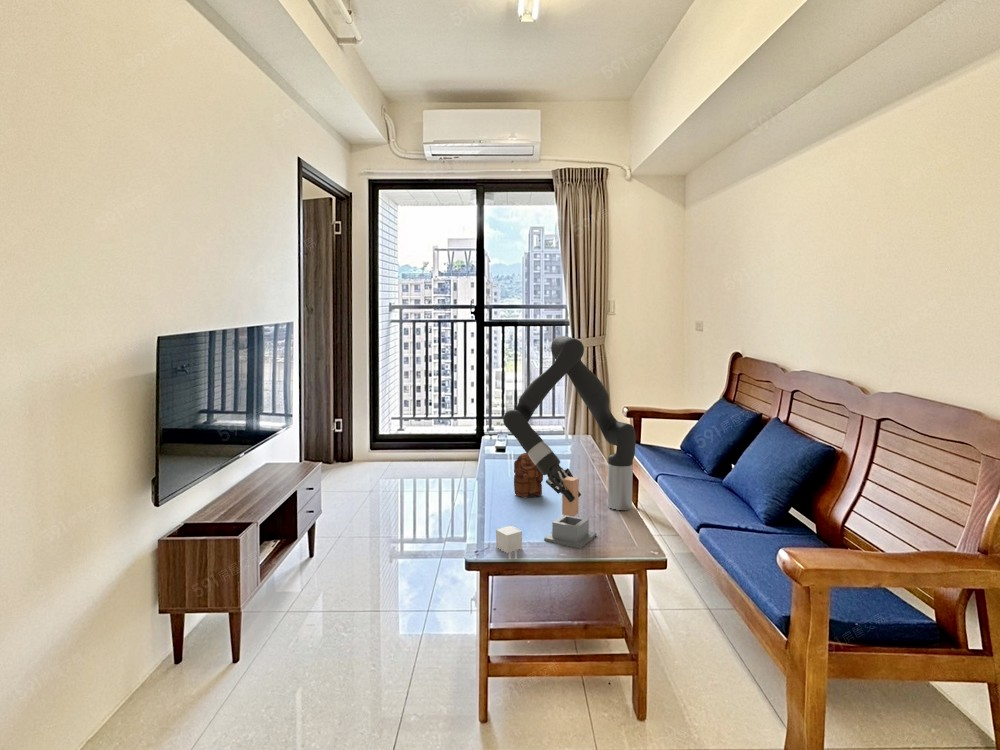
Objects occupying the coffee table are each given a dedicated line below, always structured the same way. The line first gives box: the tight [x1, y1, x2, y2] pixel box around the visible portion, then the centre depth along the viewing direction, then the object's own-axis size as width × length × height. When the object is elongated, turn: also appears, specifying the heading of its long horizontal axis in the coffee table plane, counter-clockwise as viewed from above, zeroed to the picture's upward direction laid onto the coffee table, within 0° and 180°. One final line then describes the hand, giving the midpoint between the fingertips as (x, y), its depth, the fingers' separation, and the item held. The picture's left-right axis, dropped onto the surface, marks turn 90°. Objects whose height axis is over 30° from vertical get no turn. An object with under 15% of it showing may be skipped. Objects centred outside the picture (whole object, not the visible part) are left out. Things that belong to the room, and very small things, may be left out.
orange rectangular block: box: [561, 476, 580, 517], centre depth 190 cm, size 4×4×12 cm
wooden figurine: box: [513, 452, 544, 498], centre depth 237 cm, size 12×6×18 cm, turn 96°
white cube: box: [495, 525, 523, 554], centre depth 183 cm, size 6×6×6 cm
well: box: [543, 515, 598, 550], centre depth 191 cm, size 13×13×6 cm
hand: (575, 498), depth 189 cm, fingers closed on orange rectangular block, 4 cm apart
